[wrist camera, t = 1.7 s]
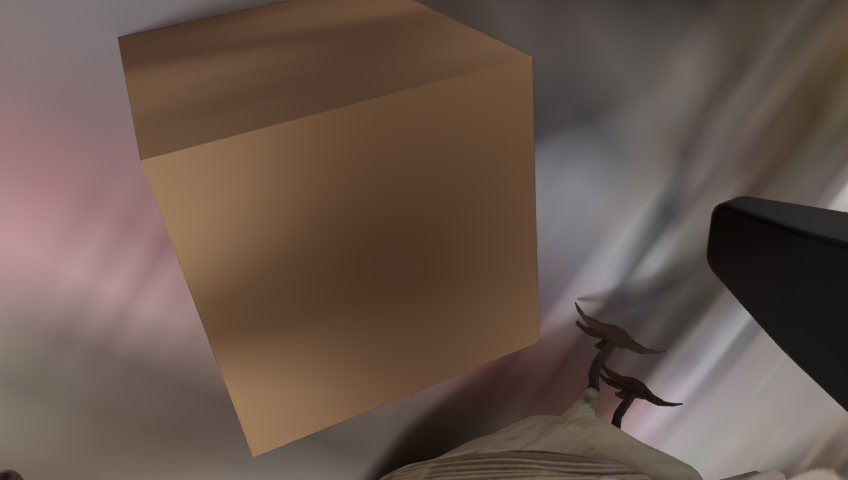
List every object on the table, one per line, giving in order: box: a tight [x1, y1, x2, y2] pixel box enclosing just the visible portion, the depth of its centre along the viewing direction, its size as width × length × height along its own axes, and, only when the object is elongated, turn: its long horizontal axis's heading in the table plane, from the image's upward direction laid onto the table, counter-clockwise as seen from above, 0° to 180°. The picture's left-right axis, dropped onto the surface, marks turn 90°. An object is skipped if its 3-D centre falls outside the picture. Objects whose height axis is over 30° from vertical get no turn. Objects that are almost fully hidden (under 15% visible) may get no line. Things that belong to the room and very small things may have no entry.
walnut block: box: [118, 0, 539, 457], centre depth 12 cm, size 5×5×6 cm
